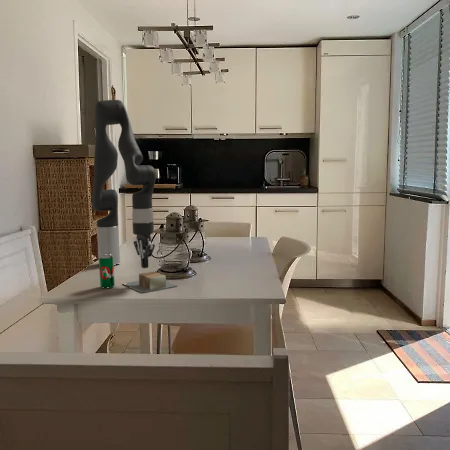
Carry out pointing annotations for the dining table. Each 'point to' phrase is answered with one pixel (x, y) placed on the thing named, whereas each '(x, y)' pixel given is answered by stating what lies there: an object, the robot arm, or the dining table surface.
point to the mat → (140, 288)
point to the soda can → (106, 270)
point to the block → (152, 280)
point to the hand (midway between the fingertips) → (144, 267)
